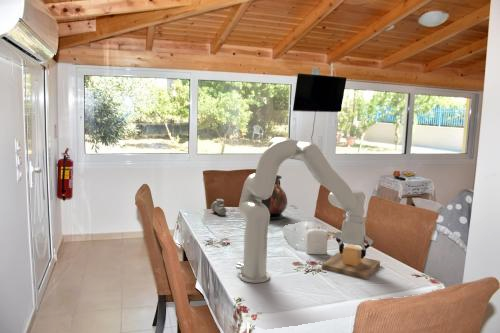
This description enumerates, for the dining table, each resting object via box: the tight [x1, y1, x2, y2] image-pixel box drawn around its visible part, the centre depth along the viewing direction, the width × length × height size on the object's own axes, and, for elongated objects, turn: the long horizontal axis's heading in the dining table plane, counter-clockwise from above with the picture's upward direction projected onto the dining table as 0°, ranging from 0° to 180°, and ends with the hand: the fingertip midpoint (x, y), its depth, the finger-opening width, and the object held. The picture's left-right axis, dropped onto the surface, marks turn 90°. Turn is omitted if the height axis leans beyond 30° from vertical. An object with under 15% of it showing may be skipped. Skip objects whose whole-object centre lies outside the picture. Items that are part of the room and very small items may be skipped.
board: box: [321, 251, 381, 280], centre depth 177 cm, size 20×20×7 cm
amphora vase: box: [261, 174, 288, 221], centre depth 260 cm, size 22×22×28 cm
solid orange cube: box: [342, 245, 362, 266], centre depth 177 cm, size 6×6×6 cm
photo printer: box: [305, 228, 329, 255], centre depth 194 cm, size 10×4×12 cm, turn 89°
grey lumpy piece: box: [210, 198, 228, 217], centre depth 267 cm, size 12×8×10 cm
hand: (351, 255), depth 177 cm, fingers open, 9 cm apart
